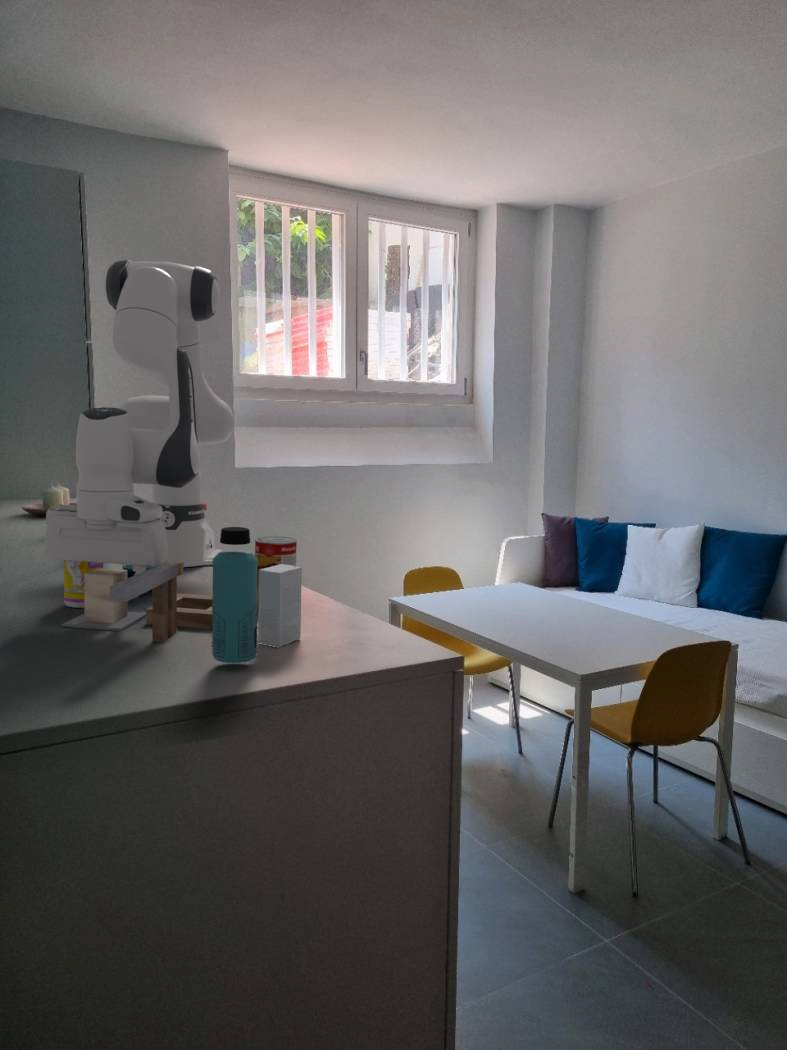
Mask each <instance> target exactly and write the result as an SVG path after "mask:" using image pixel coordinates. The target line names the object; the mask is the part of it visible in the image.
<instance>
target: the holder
mask: <svg viewBox="0 0 787 1050" xmlns="http://www.w3.org/2000/svg"><path fill="white" fill-rule="evenodd" d="M177 578H178V576H177V577H175V578H173V579H171V580H169V581H167V582H165V583H163V584H161V585H159V586H157V587H155V588H153V589H151V590H152V592H151V594H152V596H151V597H152V599H151V600H152V603H151V604H152V606H149V607H147V608H146V609H145V611H146V612H145V613H146V617H145V622H146V623H145V624H146V625H152V627H151V628H152V631H151V633H152V642H153V643H155V642H156V643H163V642H165V641H167V640H168V639H169V638H168V637H172V636H174V635H175V634H177V632H178V631H177V628H178V627H182V628H194V629H195V628H196V629H208V630H209V629H210V630H212V622H211V620H212V619H211V618H212V616H211V615H212V608H211V607H212V605H211V604H212V599H211V598H213V596H212V595H204V594H203V595H202V594H201V595H200V594H188V593H178V588H177V587H178V579H177Z"/></svg>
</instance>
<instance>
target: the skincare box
mask: <svg viewBox="0 0 787 1050" xmlns="http://www.w3.org/2000/svg"><path fill="white" fill-rule="evenodd" d="M258 605H259V606H258V610H259V611H258V612H259V613H258V614H259V615H258V616H259V617H258V616H257V617H258V618H257V620H258V621H257V627H258V628H257V639H258V643H257V644H259V643H262V644H266V645H265V646H267V645H271V646H275V647H274V648H276V647H280V648H282V647H284V646H283V645H285V646H287V645H289V644H291V643H294V642H296V641H298V640H301V633H302V632H301V629H302V628H301V626H302V624H301V623H302V567H301V566H297V565H296V566H291V565H285V564H279V565H276V566H272V567H268V568H264V569H261V570H259V603H258ZM295 640H296V641H295ZM293 641H294V642H293ZM288 643H289V644H288ZM262 644H261V645H262ZM286 644H287V645H286ZM271 646H270V647H271ZM281 646H282V647H281Z"/></svg>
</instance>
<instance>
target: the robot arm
mask: <svg viewBox="0 0 787 1050" xmlns="http://www.w3.org/2000/svg"><path fill="white" fill-rule="evenodd" d="M217 280H218V279H217V277H216V275H215V274H214V273H213V272H212V270H210V269H207V268H204V267H201V266H198V265H196V266H191V265H187V264H182V263H176V262H171V261H162V262H161V261H146V260H145V261H144V260H142V261H132V260H131V259H126V260H125V259H124V260H118V261H114V263H113V264H112V265H110V266H109V268H108V270H107V272H106V277H105V281H104V288H105V294H106V298H107V301H108V304H109V305H110V306H111V307H112V308H113V310H115V314H114V319H113V324H112V335H111V336H112V337H111V338H112V345H113V347H114V349H115V352H116V353H117V354H118V356H119V358H121V361H123V362H124V363H125V364H127V365H128V366H130V367H131V368H133V369H134V370H135V371H137V372H139V373H141V374H143V375H146V376H148V377H151V378H153V379H156V380H157V381H158V382H160V383H161V384H162V385H165V386H167V388H168V395H153V394H152V395H149V394H148V395H147V394H146V395H140V396H134V397H128V398H127V399H126V400H125V401H124V402H123V403H122V404H121V406H120V408H118V407H103V406H102V407H93V408H89V409H85V410H84V411H82V412H81V413H80V414H79V419H78V423H77V431H76V439H75V441H76V444H75V465H76V467H77V470H78V479H77V480H78V481H77V482H76V487H75V488H76V489H75V490H76V504H63V503H57V504H54V505H53V506H50V507H49V508H48V510H47V511H46V514H45V519H46V520H45V523H46V530H45V537H44V547H43V548H44V550H43V551H44V555H45V556H46V557H47V558H48V559H49V560H57V561H64V560H66V568H67V569H68V571H69V573H70V574H71V576H72V577H73V586H74V587H84V575H82V574H81V572H80V570H79V568H78V565H80V561H83V562H98V563H103V564H114V565H126V566H127V565H130V566H132V572H135V573H134V575H137V574H139V573H141V572H144V571H146V570H147V567H155V566H157V565H160V564H162V563H163V562H165V561H172V562H183V568H188V567H199V566H211V565H212V566H213V563H212V560H213V558H214V557H215V556H216V555H217V554H218V553H219V552H221V551H223V550H222V549H219V548H218V549H217V548H215V532H214V531H213V529H212V528H211V527H210V525H209V524H208V523H207V521H206V519H205V517H206V514H205V512H207V510H208V504H207V503H206V502H202V487H203V486H202V483H203V482H202V478H203V477H202V471H201V470H200V467H201V453H200V448H199V446H208V445H216V444H221V443H226V442H227V441H228V440H229V439H230V437H231V436H232V435H233V432H234V429H235V421H236V420H235V415H234V412H233V410H232V408H231V407H230V405H228V403H227V402H225V401H224V400H223V399H221V398H220V397H219V395H216V393H214V391H213V390H212V388H211V387H210V385H209V384H208V382H207V380H206V378H205V375H204V369H203V364H202V351H201V348H202V346H201V328H200V327H201V326H200V322H203V321H207V320H210V319H211V318H212V317H213V316H215V314H216V312H217V309H218V307H219V303H220V300H221V299H220V297H221V295H220V293H221V291H220V287H219V283H218V281H217ZM134 484H135V485H138V484H139V485H151V486H152V501H150V500H146V499H143V498H141V497H139V496H137V495H135V494H134V493H135V491H134V489H135V488H134Z"/></svg>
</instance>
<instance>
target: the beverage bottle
mask: <svg viewBox="0 0 787 1050" xmlns="http://www.w3.org/2000/svg"><path fill="white" fill-rule="evenodd" d="M219 537H220V538H219V543H220V544H222V545H229V546H230V545H231V546H241V545H247V544H248V545H249V544H251V535H250V529H249V528H247V527H242V526H228V527H223V528H221V530H220V536H219ZM212 563H213V565H212V595H211V596H213V598H211V599H212V604H211V605H212V607H211V608H212V615H211V616H212V618H211V619H212V620H211V622H212V629H211V637H210V638H211V654H212V656H213V657H212V658H213V660H215V661H217V662H221V663H226V664H239V663H240V664H241V663H246V662H250V661H252V660H254V659H256V657H257V654H258V651H259V648H258V647H259V646H258V645H259V643H258V617H259V604H258V603H257V602H258V600H259V599H258V594H257V592H258V591H257V590H258V589H257V563H258V559H257V558H256V557H255V554H253V552H251V551H250V550H246V549H225V550H223V551H221V552H219V553H218V554H217V555H216V556H215V557H214V558H213V560H212Z"/></svg>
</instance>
